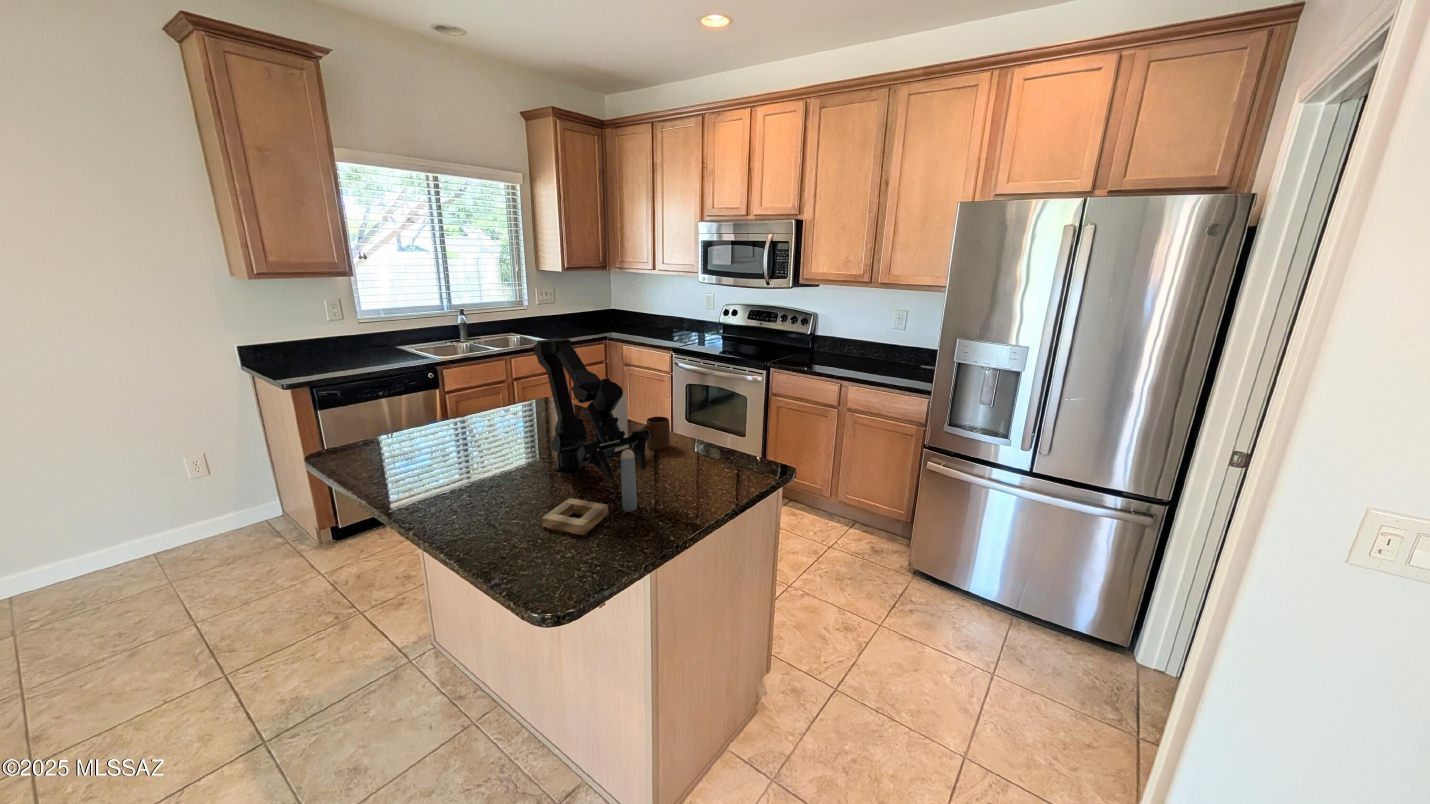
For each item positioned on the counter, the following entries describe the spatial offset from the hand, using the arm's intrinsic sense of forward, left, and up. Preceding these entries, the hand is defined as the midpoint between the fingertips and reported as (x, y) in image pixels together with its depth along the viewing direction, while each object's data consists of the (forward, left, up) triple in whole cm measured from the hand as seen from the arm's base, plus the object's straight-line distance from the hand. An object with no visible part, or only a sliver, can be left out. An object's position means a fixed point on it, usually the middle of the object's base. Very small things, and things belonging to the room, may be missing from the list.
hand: (628, 474), depth 131 cm
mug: (-13, +41, -9) cm, 44 cm away
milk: (-25, +37, -9) cm, 46 cm away
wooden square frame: (-9, -10, -9) cm, 16 cm away
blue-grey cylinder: (0, 0, -9) cm, 9 cm away
